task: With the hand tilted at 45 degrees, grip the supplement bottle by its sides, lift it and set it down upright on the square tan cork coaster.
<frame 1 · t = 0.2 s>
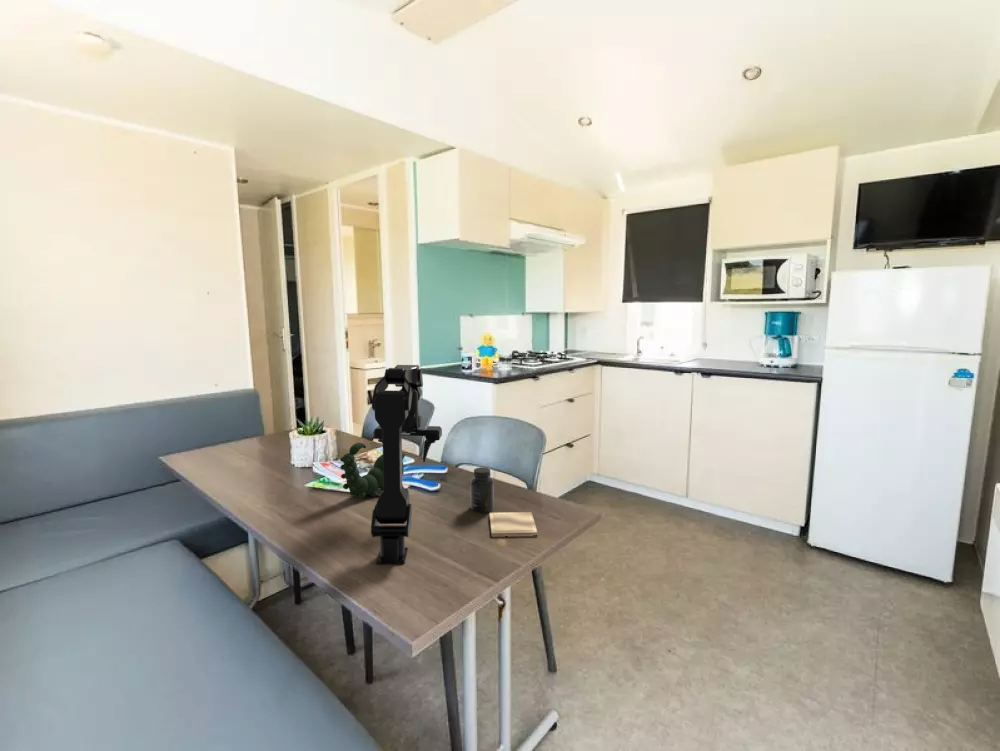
hand: (408, 461, 137), 14 cm above the table, tool pointing down, fingers open, 9 cm apart
supplement bottle: (481, 509, 139), on the table
coaster: (512, 525, 129), on the table
toy figurine: (377, 491, 151), on the table
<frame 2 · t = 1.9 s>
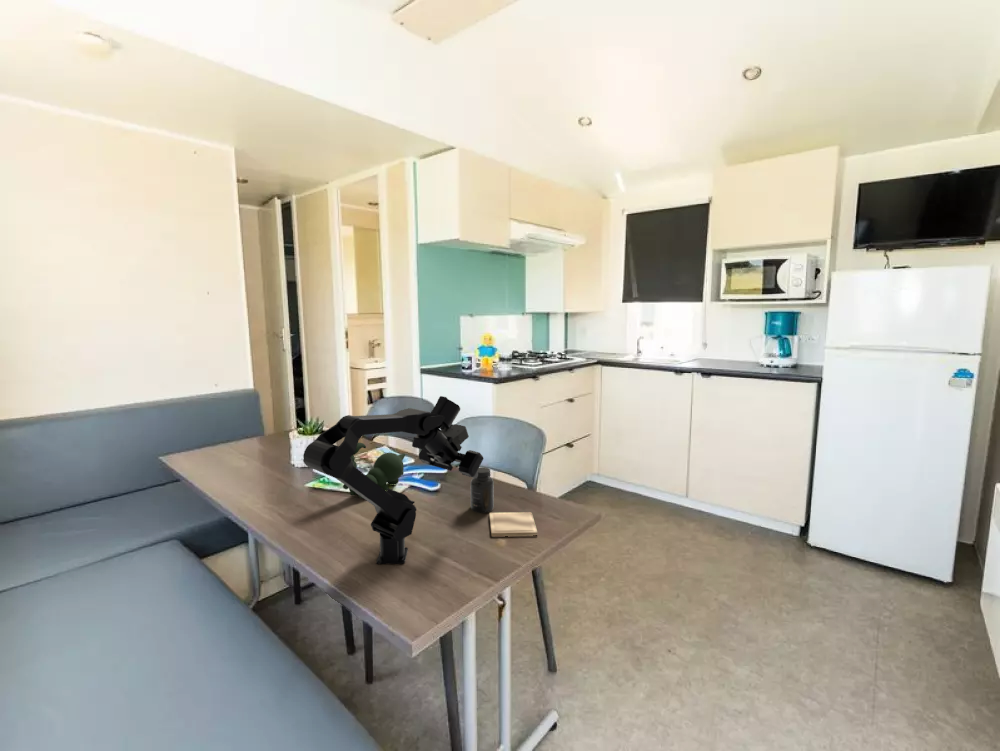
hand: (464, 472, 131), 13 cm above the table, tool tilted 45°, fingers open, 9 cm apart
nothing on the table moved.
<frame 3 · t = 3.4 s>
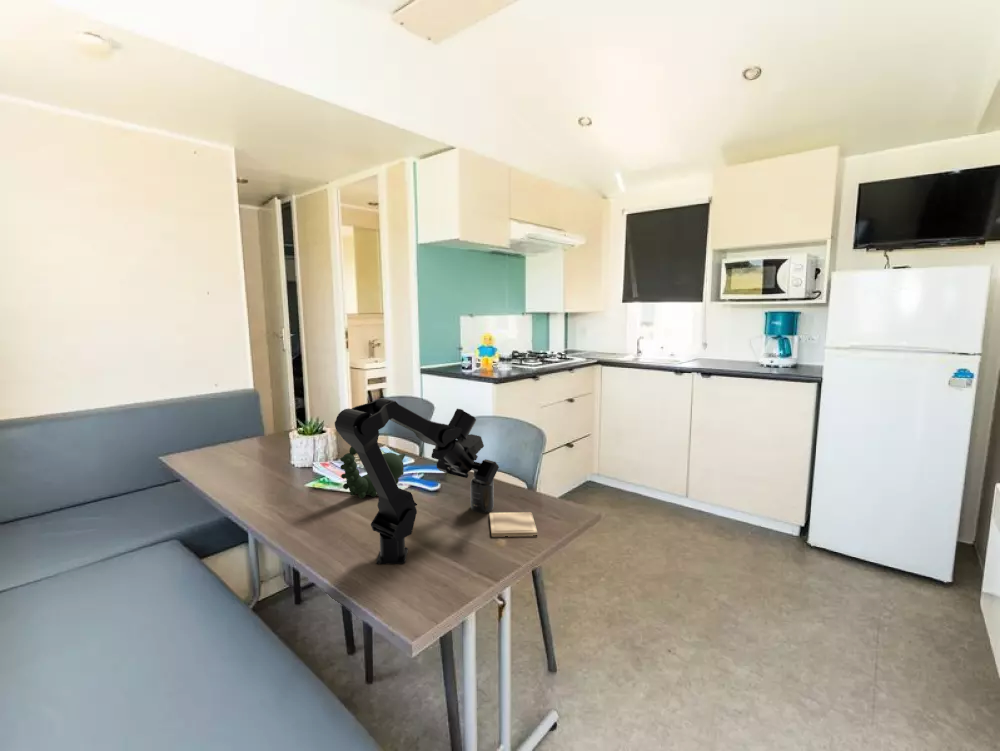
hand: (479, 480, 137), 9 cm above the table, tool tilted 45°, fingers open, 9 cm apart
nothing on the table moved.
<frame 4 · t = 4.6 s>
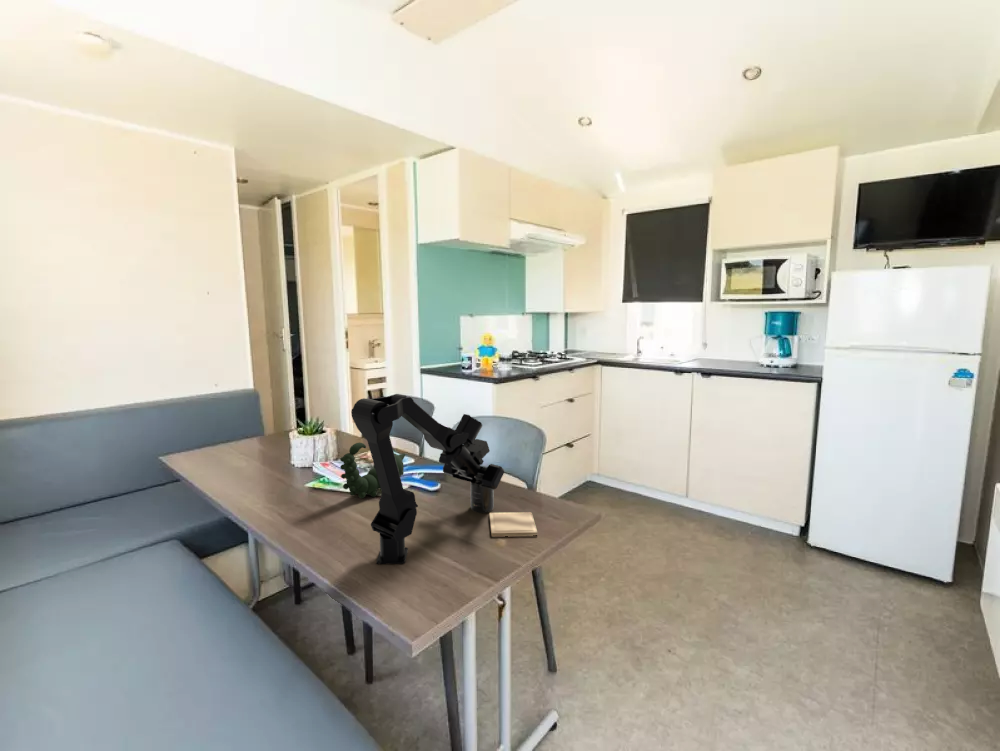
hand: (485, 484, 139), 7 cm above the table, tool tilted 45°, fingers closed on supplement bottle, 7 cm apart
supplement bottle: (481, 509, 139), on the table, touching gripper
everything else where it was.
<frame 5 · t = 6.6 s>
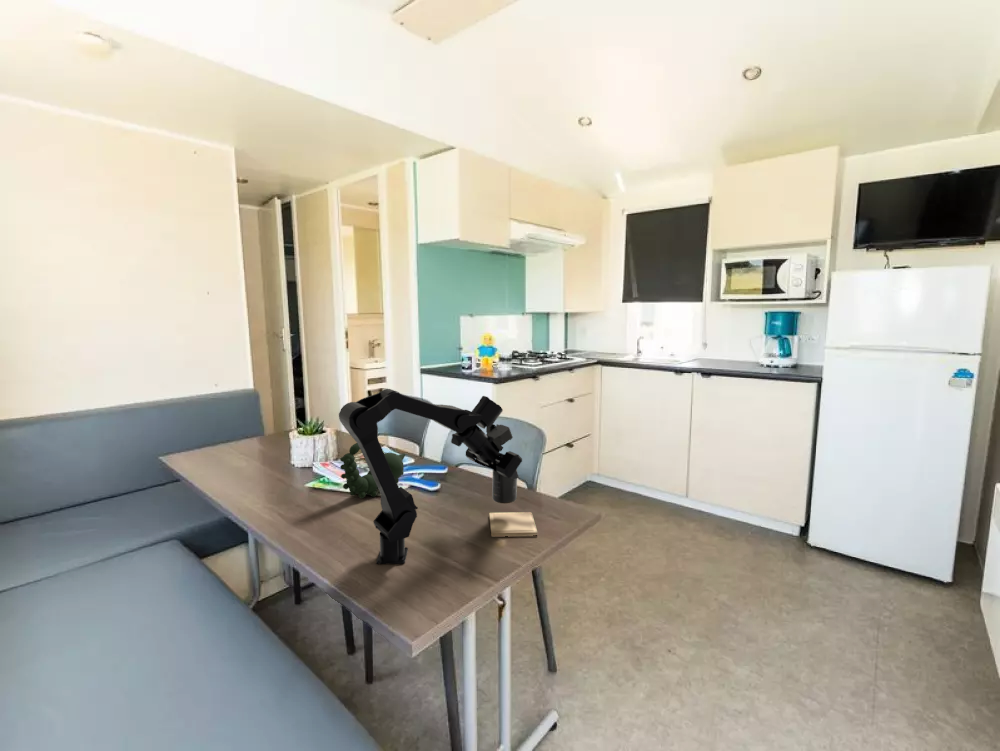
hand: (508, 473, 131), 13 cm above the table, tool tilted 45°, fingers closed on supplement bottle, 7 cm apart
supplement bottle: (504, 499, 131), point 6 cm above the table, touching gripper
everything else where it was.
when the fingers open (9 cm above the table, at t = 8.5 s): supplement bottle stays where it is, resting on coaster.
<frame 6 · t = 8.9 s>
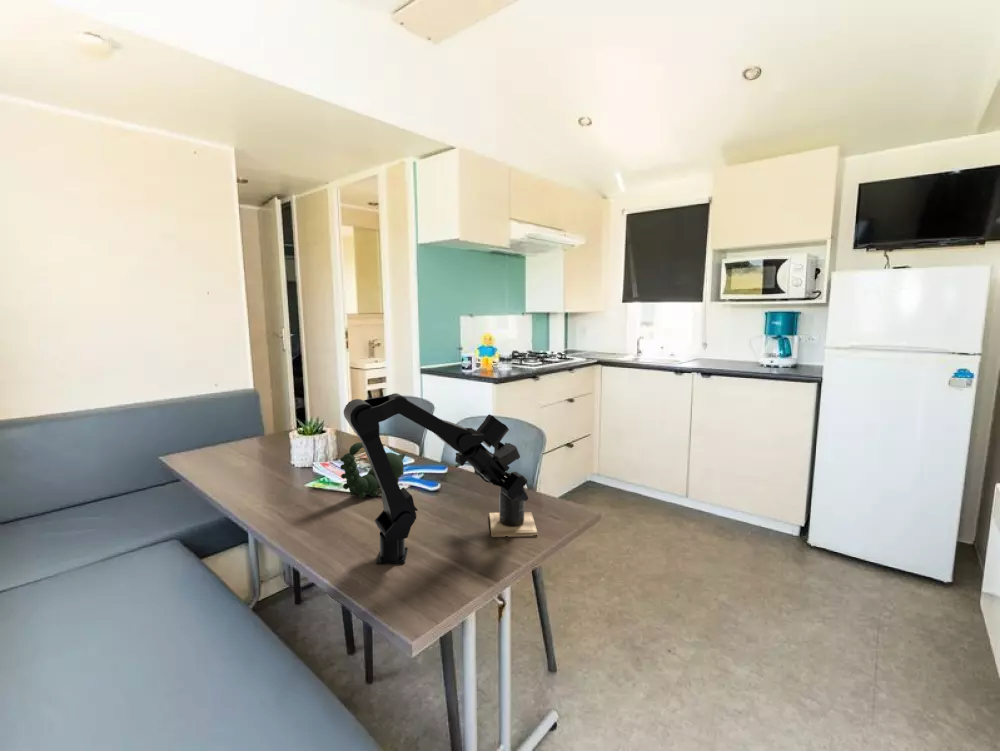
hand: (517, 493, 128), 9 cm above the table, tool tilted 45°, fingers open, 9 cm apart
supplement bottle: (511, 522, 129), point 1 cm above the table, touching coaster
everything else where it was.
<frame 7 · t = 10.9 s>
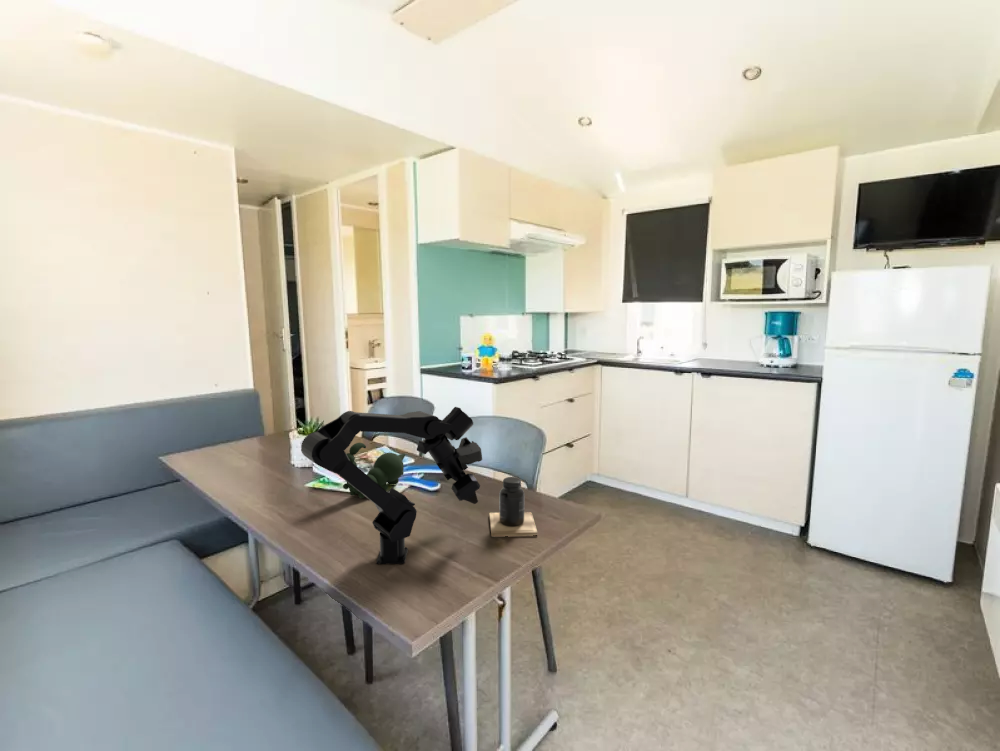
hand: (469, 492, 126), 10 cm above the table, tool tilted 35°, fingers open, 9 cm apart
nothing on the table moved.
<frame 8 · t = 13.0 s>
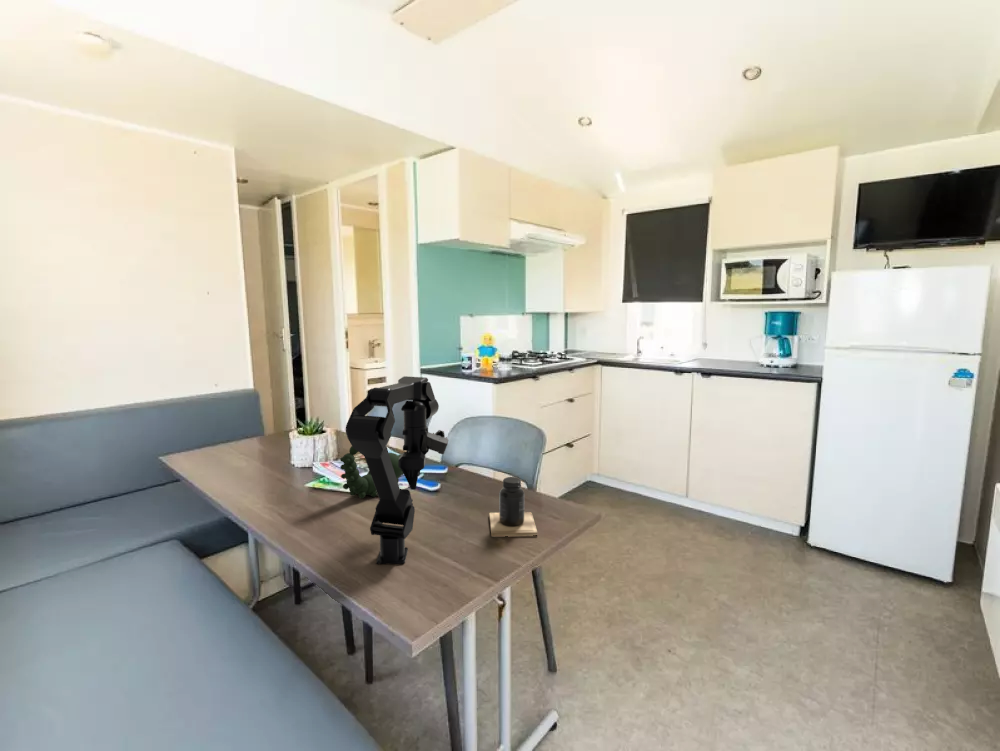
hand: (415, 482, 124), 13 cm above the table, tool pointing down, fingers open, 9 cm apart
nothing on the table moved.
at the end: supplement bottle inside the target area on the coaster (0.3 cm from its centre), point 0.9 cm above the coaster's base; supplement bottle tilted 0°; the gripper is holding nothing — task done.
